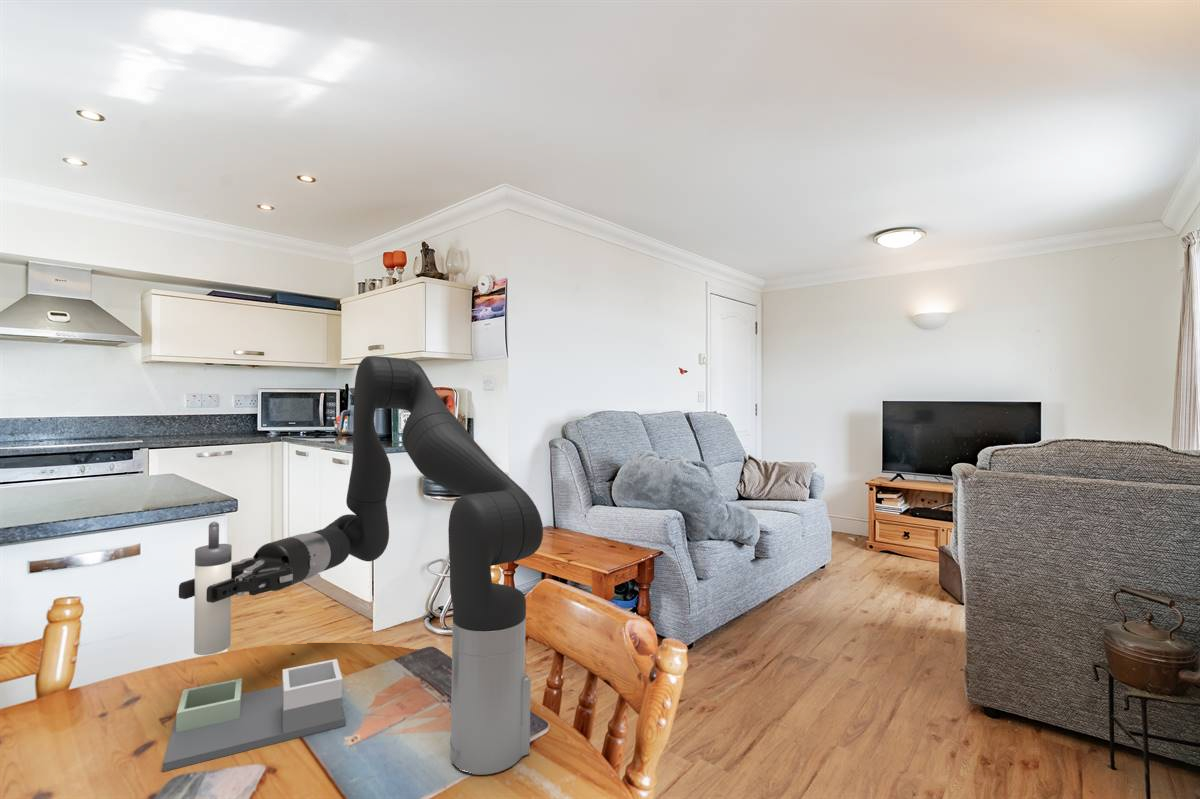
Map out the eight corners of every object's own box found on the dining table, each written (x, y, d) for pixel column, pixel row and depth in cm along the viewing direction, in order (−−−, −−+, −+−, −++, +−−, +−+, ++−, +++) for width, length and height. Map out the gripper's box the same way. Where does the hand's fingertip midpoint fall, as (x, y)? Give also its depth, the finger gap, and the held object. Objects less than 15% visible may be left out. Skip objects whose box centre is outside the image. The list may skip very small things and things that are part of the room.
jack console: (334, 680, 90) (335, 639, 90) (345, 725, 77) (346, 678, 78) (178, 713, 80) (179, 667, 80) (162, 771, 67) (164, 717, 67)
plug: (231, 639, 81) (232, 517, 81) (229, 650, 78) (230, 523, 78) (195, 645, 79) (197, 520, 79) (192, 657, 76) (193, 526, 76)
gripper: (258, 533, 94) (154, 561, 78) (330, 540, 91) (238, 570, 74) (257, 578, 94) (153, 615, 78) (329, 587, 91) (236, 627, 74)
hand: (195, 593), depth 76 cm, fingers closed on plug, 4 cm apart
